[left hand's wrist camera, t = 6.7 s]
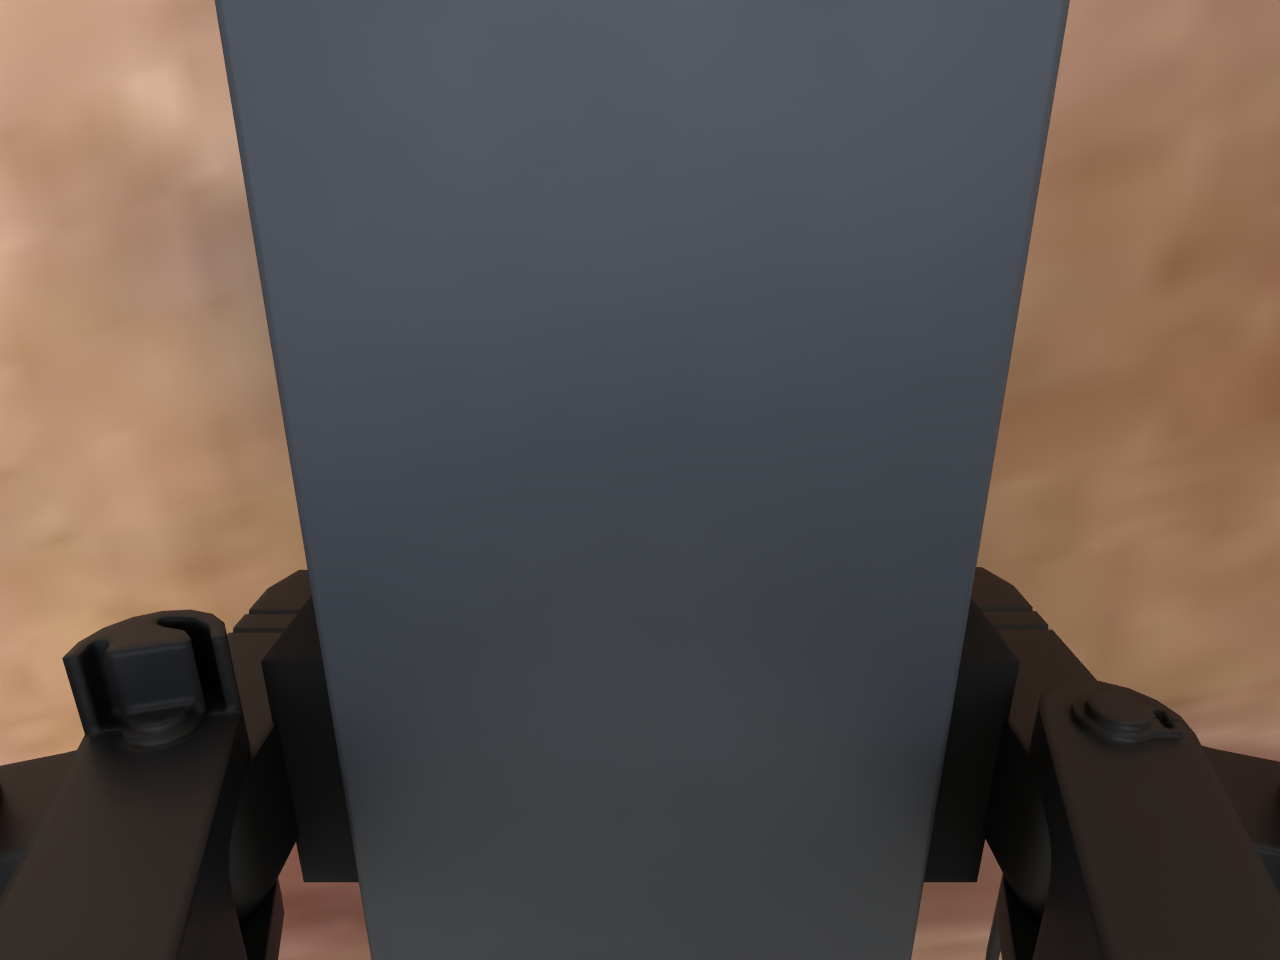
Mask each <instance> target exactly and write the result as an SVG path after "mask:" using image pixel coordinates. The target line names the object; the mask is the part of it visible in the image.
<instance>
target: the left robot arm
mask: <svg viewBox="0 0 1280 960" xmlns="http://www.w3.org/2000/svg"><path fill="white" fill-rule="evenodd" d="M62 659H63V662H64V665H65V669H66V672H67V675H68V679H69V682H70V685H71V689H72V692H73V696H74V699H75V702H76V706H77V709H78V712H79V716H80V719H81V722H82V726H83V729H84V732H85V736H84V738H83V740H82V742H81V744H80V746H79V747H78V749H77V750H75V751H71V752H67V753H63V754H58V755H53V756H48V757H43V758H38V759H33V760H27V761H22V762H17V763H12V764H7V765H2V766H0V960H278V955H279V948H280V940H281V933H282V926H283V918H284V908H283V901H282V894H281V890H280V885H279V880H278V876H279V874H280V872H281V870H282V868H283V866H284V864H285V862H286V860H287V858H288V856H289V854H290V852H291V850H292V848H293V846H294V844H295V842H296V844H297V849H298V854H299V859H300V864H301V869H302V874H303V880H304V882H359V879H358V873H357V867H356V861H355V855H354V849H353V842H352V836H351V830H350V824H349V818H348V812H347V806H346V800H345V794H344V787H343V781H342V775H341V769H340V763H339V757H338V751H337V745H336V739H335V732H334V726H333V720H332V714H331V708H330V702H329V696H328V690H327V684H326V677H325V671H324V665H323V659H322V653H321V647H320V641H319V635H318V628H317V622H316V616H315V610H314V604H313V598H312V592H311V586H310V580H309V573H308V570H299V571H297V572H295V573H293V574H292V575H290V576H288V577H287V578H285V579H283V580H282V581H280V582H278V583H276V584H275V585H273V586H271V587H270V588H268V589H267V590H266V591H265V592H264V594H263V595H262V596H261V597H260V598H259V599H258V600H257V602H256V603H255V604H254V605H253V606H252V607H251V608H250V610H249V614H245V615H244V616H243V618H242V619H241V620H240V621H239V622H238V623H237V624H236V626H235V627H234V628H233V633H229V634H228V635H227V633H226V628H225V624H224V622H223V621H221V620H220V619H218V618H217V617H216V616H214V615H213V614H210V613H205V612H200V611H195V610H174V611H161V612H156V613H151V614H146V615H142V616H137V617H132V618H130V619H127V620H124V621H121V622H119V623H116V624H113V625H110V626H108V627H105V628H103V629H101V630H99V631H97V632H96V633H94V634H92V635H90V636H89V637H87V638H85V639H83V640H82V641H80V642H78V643H77V644H76V645H75V646H74V647H73V648H72V649H71V650H70V651H69V652H68V653H67V654H66V655H65V656H64V657H63V658H62ZM985 839H986V841H987V842H988V844H989V846H990V848H991V850H992V852H993V854H994V856H995V858H996V860H997V862H998V864H999V866H1000V868H1001V870H1002V872H1003V875H1002V880H1001V885H1000V889H999V894H998V899H997V904H996V908H995V913H994V918H993V923H992V927H991V932H990V937H989V942H988V946H987V952H986V959H985V960H998V959H999V954H1000V951H1001V953H1002V960H1280V762H1278V761H1272V760H1267V759H1262V758H1257V757H1252V756H1247V755H1242V754H1237V753H1232V752H1227V751H1222V750H1217V749H1213V748H1209V747H1205V746H1201V744H1200V742H1199V740H1198V738H1197V736H1196V735H1195V733H1194V732H1193V731H1192V729H1191V728H1190V727H1189V726H1188V725H1187V724H1186V722H1185V721H1184V720H1183V719H1182V718H1181V716H1179V715H1178V714H1176V713H1175V712H1173V711H1172V710H1170V709H1169V708H1168V707H1166V706H1165V705H1163V704H1162V703H1160V702H1159V701H1157V700H1155V699H1153V698H1150V697H1148V696H1146V695H1143V694H1141V693H1139V692H1136V691H1134V690H1132V689H1129V688H1125V687H1121V686H1117V685H1113V684H1109V683H1105V682H1101V681H1097V680H1096V679H1095V678H1094V676H1093V675H1092V674H1091V673H1090V672H1089V671H1088V670H1087V669H1086V667H1085V666H1084V665H1083V664H1082V663H1081V662H1080V661H1079V659H1078V658H1077V657H1076V656H1075V655H1074V654H1073V653H1072V652H1071V650H1070V649H1069V648H1068V647H1067V646H1066V645H1065V644H1064V642H1063V641H1062V640H1061V639H1060V638H1059V637H1058V636H1057V635H1056V633H1055V632H1054V631H1053V630H1048V624H1047V623H1046V622H1045V621H1044V620H1043V619H1042V618H1041V616H1040V615H1039V614H1038V613H1037V612H1036V611H1032V606H1031V605H1030V604H1029V603H1028V602H1027V601H1026V599H1025V598H1024V597H1023V596H1022V595H1021V594H1020V593H1019V592H1018V590H1017V589H1016V588H1015V587H1014V586H1013V585H1011V584H1010V583H1008V582H1006V581H1004V580H1003V579H1001V578H999V577H998V576H996V575H994V574H992V573H991V572H989V571H987V570H986V569H984V568H982V567H976V569H975V575H974V581H973V587H972V593H971V599H970V605H969V611H968V617H967V623H966V630H965V636H964V642H963V648H962V654H961V660H960V666H959V672H958V678H957V684H956V690H955V696H954V702H953V708H952V714H951V720H950V726H949V732H948V738H947V744H946V750H945V756H944V762H943V768H942V774H941V780H940V786H939V792H938V799H937V805H936V811H935V817H934V823H933V829H932V835H931V841H930V847H929V853H928V859H927V865H926V871H925V877H924V882H977V878H978V873H979V868H980V863H981V858H982V853H983V848H984V843H985Z"/></svg>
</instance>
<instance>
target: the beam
mask: <svg viewBox="0 0 1280 960" xmlns="http://www.w3.org/2000/svg"><path fill="white" fill-rule="evenodd" d="M1069 2H1070V0H215V5H216V11H217V17H218V23H219V29H220V35H221V42H222V48H223V54H224V60H225V66H226V72H227V78H228V84H229V90H230V97H231V103H232V109H233V115H234V121H235V127H236V133H237V139H238V146H239V152H240V158H241V164H242V170H243V176H244V182H245V188H246V194H247V201H248V207H249V213H250V219H251V225H252V231H253V237H254V243H255V249H256V256H257V262H258V268H259V274H260V280H261V286H262V292H263V298H264V304H265V311H266V317H267V323H268V329H269V335H270V341H271V347H272V353H273V359H274V366H275V372H276V378H277V384H278V390H279V396H280V402H281V408H282V415H283V421H284V427H285V433H286V439H287V445H288V451H289V457H290V463H291V470H292V476H293V482H294V488H295V494H296V500H297V506H298V512H299V518H300V525H301V531H302V537H303V543H304V549H305V555H306V561H307V567H308V573H309V580H310V586H311V592H312V598H313V604H314V610H315V616H316V622H317V628H318V635H319V641H320V647H321V653H322V659H323V665H324V671H325V677H326V684H327V690H328V696H329V702H330V708H331V714H332V720H333V726H334V732H335V739H336V745H337V751H338V757H339V763H340V769H341V775H342V781H343V787H344V794H345V800H346V806H347V812H348V818H349V824H350V830H351V836H352V842H353V849H354V855H355V861H356V867H357V873H358V879H359V885H360V891H361V897H362V904H363V910H364V916H365V922H366V928H367V934H368V940H369V946H370V953H371V959H372V960H911V955H912V949H913V943H914V937H915V931H916V925H917V919H918V913H919V907H920V901H921V895H922V889H923V883H924V877H925V871H926V865H927V859H928V853H929V847H930V841H931V835H932V829H933V823H934V817H935V811H936V805H937V799H938V792H939V786H940V780H941V774H942V768H943V762H944V756H945V750H946V744H947V738H948V732H949V726H950V720H951V714H952V708H953V702H954V696H955V690H956V684H957V678H958V672H959V666H960V660H961V654H962V648H963V642H964V636H965V630H966V623H967V617H968V611H969V605H970V599H971V593H972V587H973V581H974V575H975V569H976V563H977V557H978V551H979V545H980V539H981V533H982V527H983V521H984V515H985V509H986V503H987V497H988V491H989V485H990V479H991V473H992V467H993V461H994V454H995V448H996V442H997V436H998V430H999V424H1000V418H1001V412H1002V406H1003V400H1004V394H1005V388H1006V382H1007V376H1008V370H1009V364H1010V358H1011V352H1012V346H1013V340H1014V334H1015V328H1016V322H1017V316H1018V310H1019V304H1020V298H1021V291H1022V285H1023V279H1024V273H1025V267H1026V261H1027V255H1028V249H1029V243H1030V237H1031V231H1032V225H1033V219H1034V213H1035V207H1036V201H1037V195H1038V189H1039V183H1040V177H1041V171H1042V165H1043V159H1044V153H1045V147H1046V141H1047V135H1048V129H1049V122H1050V116H1051V110H1052V104H1053V98H1054V92H1055V86H1056V80H1057V74H1058V68H1059V62H1060V56H1061V50H1062V44H1063V38H1064V32H1065V26H1066V20H1067V14H1068V8H1069Z"/></svg>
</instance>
